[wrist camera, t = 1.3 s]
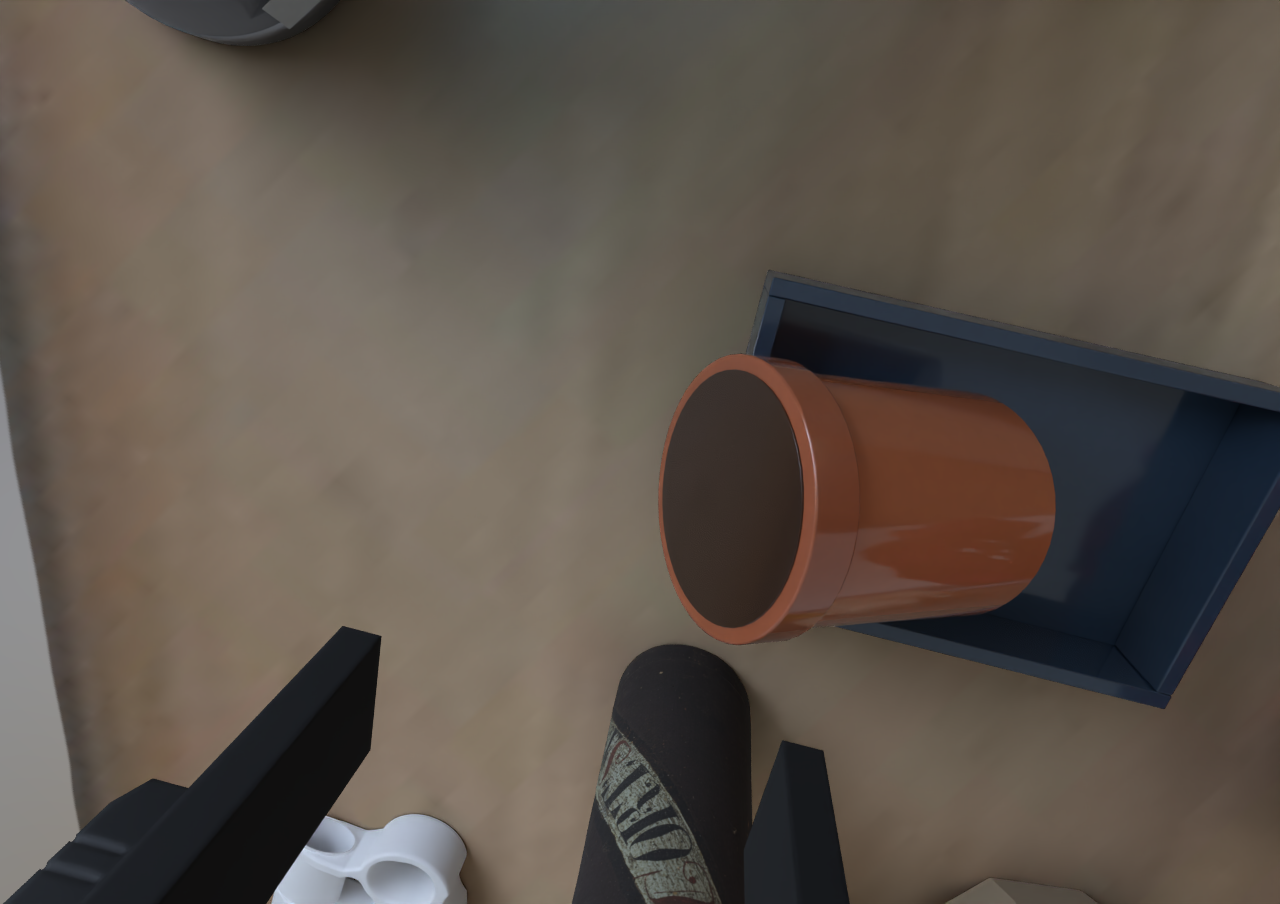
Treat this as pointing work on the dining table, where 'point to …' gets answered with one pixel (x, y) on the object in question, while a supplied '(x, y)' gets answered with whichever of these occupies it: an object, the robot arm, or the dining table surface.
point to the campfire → (1019, 894)
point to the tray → (1073, 480)
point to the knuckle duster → (378, 865)
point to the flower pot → (845, 501)
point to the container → (672, 786)
